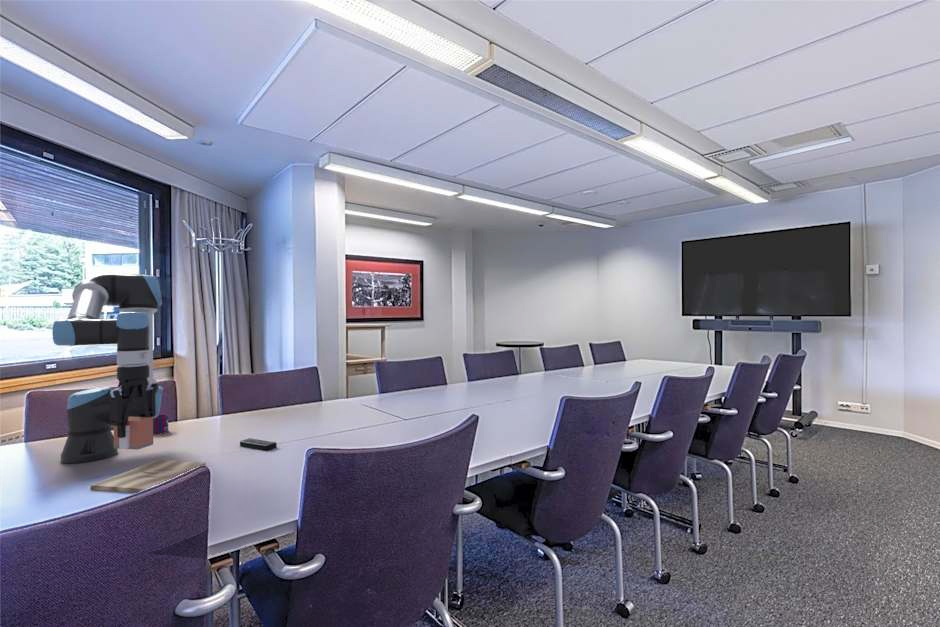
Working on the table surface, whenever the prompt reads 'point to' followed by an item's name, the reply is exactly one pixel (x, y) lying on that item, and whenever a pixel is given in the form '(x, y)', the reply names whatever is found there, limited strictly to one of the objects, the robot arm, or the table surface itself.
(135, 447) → the block
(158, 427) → the mug
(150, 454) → the table surface
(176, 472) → the board
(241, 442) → the multiport hub
